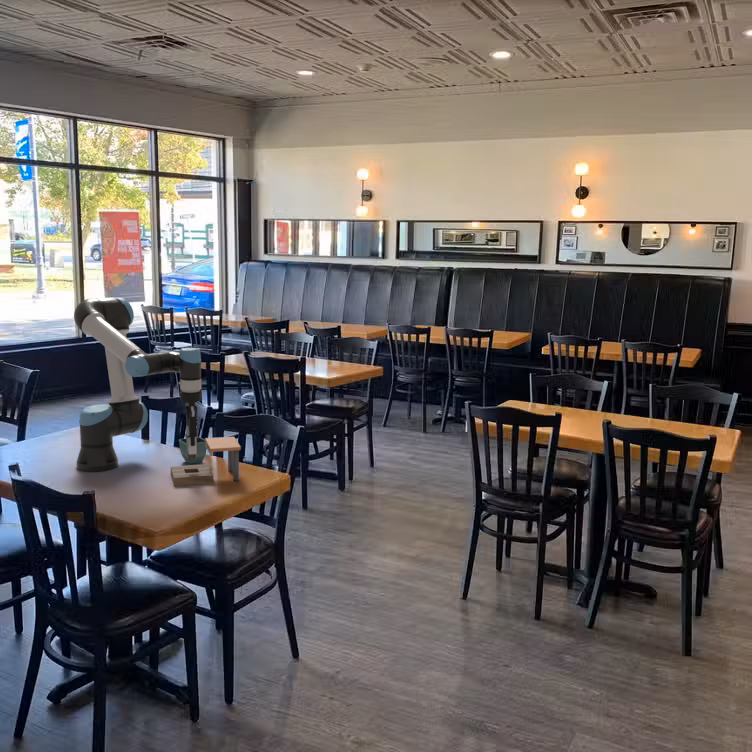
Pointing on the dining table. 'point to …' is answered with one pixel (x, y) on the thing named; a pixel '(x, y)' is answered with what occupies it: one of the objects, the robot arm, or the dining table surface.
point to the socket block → (191, 474)
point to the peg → (189, 456)
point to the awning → (226, 445)
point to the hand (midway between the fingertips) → (191, 452)
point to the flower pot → (200, 450)
